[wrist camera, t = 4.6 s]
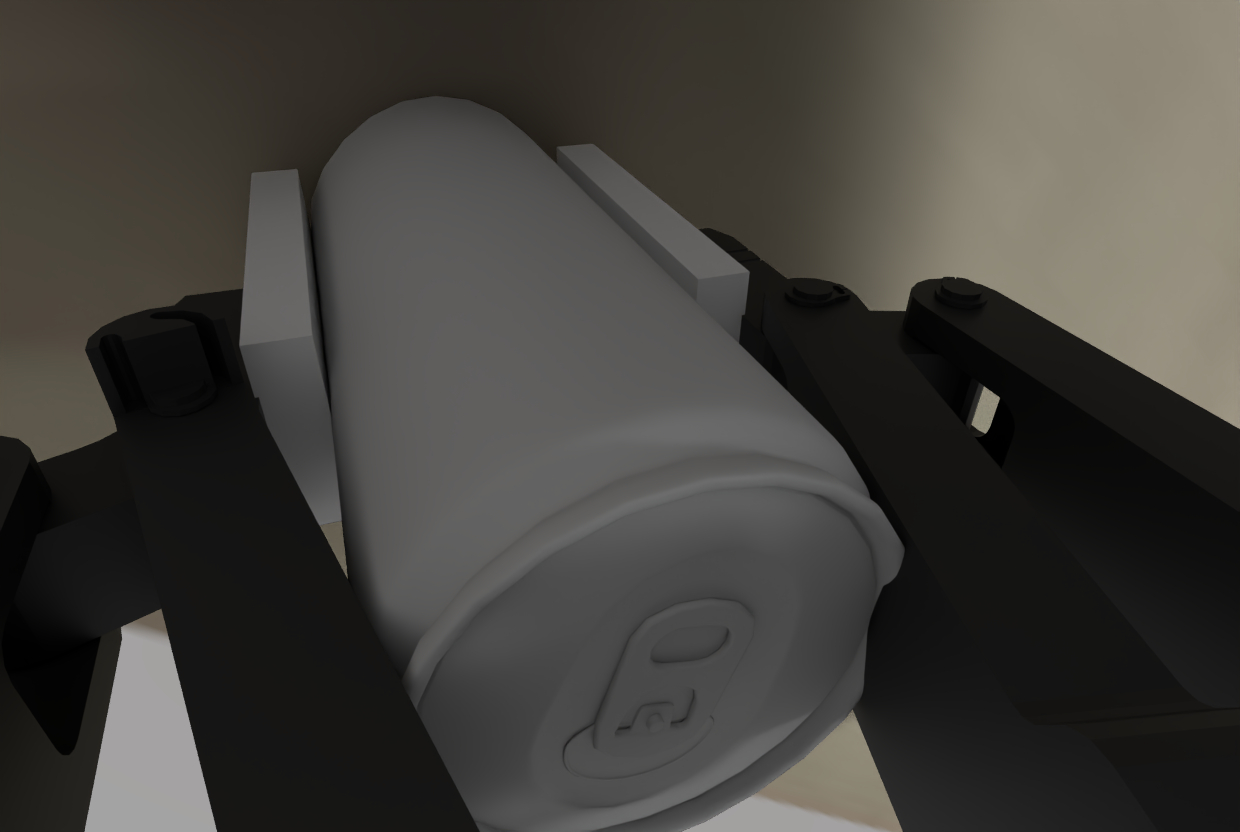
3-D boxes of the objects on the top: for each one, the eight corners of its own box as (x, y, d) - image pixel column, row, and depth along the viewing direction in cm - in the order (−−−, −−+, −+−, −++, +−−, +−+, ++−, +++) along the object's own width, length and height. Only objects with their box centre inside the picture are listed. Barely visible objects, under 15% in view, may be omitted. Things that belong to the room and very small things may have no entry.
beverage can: (294, 306, 16) (324, 924, 6) (326, 55, 14) (443, 432, 4) (520, 336, 18) (788, 829, 9) (578, 124, 16) (1022, 474, 6)
